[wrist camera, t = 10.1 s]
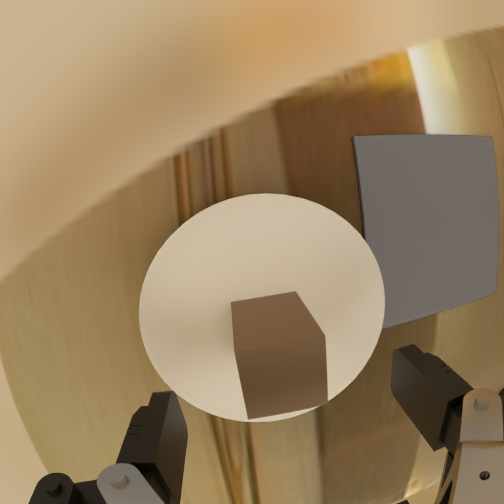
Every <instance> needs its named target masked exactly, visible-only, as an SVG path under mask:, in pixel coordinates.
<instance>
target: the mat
mask: <svg viewBox="0 0 504 504" xmlns="http://www.w3.org/2000/svg"><path fill="white" fill-rule="evenodd" d="M352 142H353V148H354V155H355V162H356V170H357V177H358V186H359V194H360V204H361V214H362V225H363V237H364V240H365V242H366V243H367V244H368V246H369V247H370V249H371V251H372V253H373V255H374V257H375V258H376V261H377V263H378V266H379V269H380V272H381V275H382V280H383V285H384V293H385V311H384V319H383V324H382V329H384V328H388V327H391V326H395V325H398V324H402V323H405V322H409V321H412V320H416V319H419V318H422V317H426V316H429V315H432V314H435V313H438V312H441V311H445V310H448V309H451V308H454V307H457V306H460V305H462V304H465V303H468V302H471V301H474V300H477V299H479V298H482V297H485V296H488V295H490V294H493V293H496V284H497V272H498V254H499V201H498V183H497V171H496V161H495V152H494V144H493V137H487V136H468V135H429V134H413V135H371V136H353V137H352Z"/></svg>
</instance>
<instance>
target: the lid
mask: <svg viewBox="0 0 504 504" xmlns="http://www.w3.org/2000/svg"><path fill="white" fill-rule="evenodd" d="M384 311H385V293H384V285H383V280H382V275H381V272H380V269H379V266H378V263H377V261H376V258H375V257H374V255H373V253H372V251H371V249H370V247H369V246H368V244H367V243H366V242H365V240H364V239H363V238H362V236H361V235H360V234H359V232H358V231H356V230H355V229H354V228H353V227H352V226H351V225H350V224H349V223H348V222H347V221H346V220H344V219H343V218H342V217H340V216H339V215H338V214H336V213H335V212H333V211H331V210H329V209H328V208H326V207H324V206H322V205H320V204H317V203H315V202H312V201H309V200H306V199H303V198H299V197H294V196H289V195H283V194H269V193H262V194H249V195H243V196H239V197H234V198H230V199H227V200H224V201H222V202H219V203H216V204H214V205H212V206H210V207H208V208H206V209H204V210H202V211H200V212H198V213H197V214H196V215H194V216H193V217H192V218H190V219H189V220H187V221H186V222H185V223H184V224H182V225H181V226H180V227H179V228H178V229H177V230H176V231H175V232H174V233H173V234H172V235H171V236H170V237H169V238H168V239H167V241H166V242H165V243H164V244H163V246H162V247H161V248H160V250H159V251H158V252H157V254H156V256H155V258H154V259H153V261H152V263H151V265H150V267H149V269H148V272H147V274H146V277H145V279H144V282H143V286H142V291H141V295H140V304H139V323H140V331H141V336H142V340H143V344H144V347H145V349H146V352H147V354H148V357H149V359H150V361H151V363H152V364H153V366H154V368H155V370H156V371H157V372H158V374H159V375H160V377H161V378H162V379H163V381H164V382H165V383H166V384H167V385H168V386H169V387H170V388H171V389H172V390H173V391H174V392H175V393H177V394H178V395H179V396H180V397H182V398H183V399H184V400H185V401H187V402H189V403H190V404H192V405H194V406H195V407H197V408H199V409H201V410H203V411H205V412H208V413H210V414H213V415H216V416H219V417H222V418H226V419H231V420H236V421H245V422H268V421H276V420H282V419H286V418H291V417H295V416H297V415H300V414H303V413H306V412H308V411H310V410H313V409H315V408H317V407H319V406H322V405H326V404H328V401H329V400H330V399H332V398H333V397H335V396H336V395H337V394H339V393H340V392H341V391H342V390H344V389H345V388H346V387H347V386H348V385H349V384H350V383H351V382H352V381H353V380H354V379H355V378H356V376H357V375H358V374H359V373H360V371H361V370H362V369H363V368H364V366H365V365H366V363H367V361H368V360H369V358H370V357H371V355H372V353H373V351H374V348H375V346H376V344H377V342H378V339H379V336H380V333H381V329H382V324H383V319H384Z"/></svg>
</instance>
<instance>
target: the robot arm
mask: <svg viewBox="0 0 504 504" xmlns="http://www.w3.org/2000/svg"><path fill="white" fill-rule="evenodd" d="M391 389H392V393H393V396H394V397H395V399H396V400H397V402H398V403H399V404H400V406H401V407H402V408H403V410H404V411H405V412H406V414H407V415H408V416H409V418H410V419H411V420H412V422H413V423H414V424H415V426H416V427H417V429H418V430H419V431H420V433H421V434H422V435H423V437H424V438H425V439H426V441H427V442H428V444H429V445H430V446H431V448H432V449H433V451H436V450H438V449H441V448H443V447H446V448H447V449H448V451H447V454H446V458H445V464H444V469H443V473H442V478H441V482H440V487H439V491H438V495H437V498H436V501H435V503H434V504H504V395H502V396H499V395H498V394H497V393H496V392H495V391H493V390H490V389H486V388H478V389H473V388H472V387H471V386H470V385H469V384H468V383H467V382H466V381H465V380H464V379H462V378H461V377H460V376H459V375H458V374H457V373H456V372H455V371H453V370H452V369H451V368H450V367H449V366H447V365H446V363H445V362H443V361H442V360H441V359H440V358H439V357H437V356H434V355H432V354H430V353H423V352H422V351H421V350H420V349H419V348H418V347H416V346H415V345H414V344H411V345H408V346H405V347H402V348H398V349H395V350H394V352H393V360H392V374H391ZM126 434H127V435H125V438H124V441H123V444H122V447H121V450H120V453H119V456H118V458H117V461H116V464H113V465H111V466H108V467H107V468H105V469H104V470H103V471H102V472H101V473H100V474H99V476H98V478H97V480H93V481H86V482H79V483H73V481H72V480H71V479H70V477H69V476H67V475H65V474H63V473H52V474H48V475H46V476H44V477H43V478H42V479H41V480H40V481H39V482H38V484H37V486H36V487H35V490H34V492H33V494H32V497H31V499H30V502H29V504H180V498H181V489H182V480H183V472H184V463H185V455H186V447H187V439H188V432H187V425H186V422H185V419H184V416H183V413H182V411H181V408H180V405H179V402H178V399H177V396H176V394H175V392H174V391H165V392H153V393H152V396H151V399H150V402H149V405H148V406H141V407H140V408H139V409H138V410H137V411H136V412H135V413H134V415H133V416H132V419H131V422H130V424H129V427H128V430H127V433H126ZM397 504H409V503H408V501H407V500H405V501H402V502H400V503H397Z"/></svg>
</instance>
